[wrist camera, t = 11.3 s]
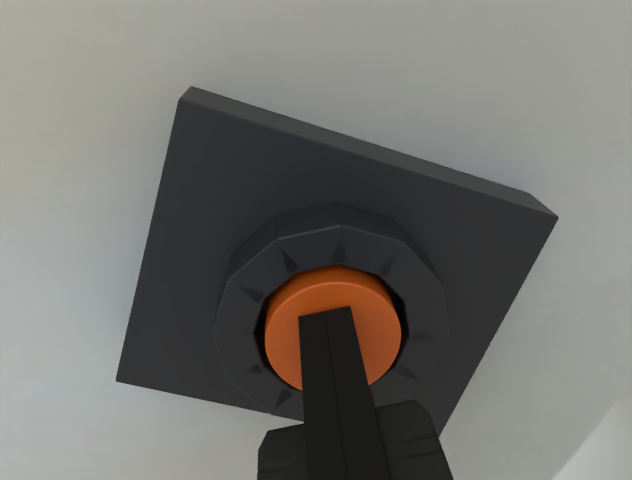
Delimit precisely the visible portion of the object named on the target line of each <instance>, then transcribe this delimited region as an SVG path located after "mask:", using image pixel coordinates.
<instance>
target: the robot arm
mask: <svg viewBox="0 0 632 480" xmlns="http://www.w3.org/2000/svg"><path fill="white" fill-rule="evenodd" d="M298 325H299V342H300V359H301V376H302V393H303V409H304V424H299V425H294V426H289V427H284V428H279V429H274V430H269V431H268V432H267V434H266V436H265V438H264V440H263V442H262V444H261V446H260V448H259V450H258V473H257V480H453V477H452V474H451V471H450V469H449V466H448V463H447V460H446V457H445V455H444V452H443V450H442V446H441V444H440V441H439V438H438V435H437V433H436V430H435V427H434V424H433V421H432V418H431V416H430V413H429V412H428V411H427V410H426V409H425V408H424V407H423V406H422V405H421V404H420V403H418V402H417V401H416V400H415V399H414V400H409V401H405V402H400V403H395V404H390V405H385V406H380V407H375V408H374V407H373V402H372V398H371V393H370V389H369V385H368V380H367V376H366V372H365V367H364V363H363V359H362V354H361V350H360V346H359V341H358V337H357V332H356V328H355V324H354V319H353V315H352V311H351V306H346V307H341V308H337V309H332V310H327V311H322V312H317V313H313V314H308V315H303V316H298Z"/></svg>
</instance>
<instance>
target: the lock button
mask: <svg viewBox="0 0 632 480" xmlns="http://www.w3.org/2000/svg"><path fill="white" fill-rule="evenodd" d="M346 306H351V311H352V315H353V319H354V324H355V328H356V332H357V337H358V341H359V346H360V350H361V354H362V359H363V363H364V367H365V372H366V376H367V380H368V385H370V384H372V383H373V382H375V381H376V380H377V379H379V378H380V377H381V376H382V375H383V374H384V373H385V372H386V371H387V370H388V369H389V367H390V366H391V365H392V363H393V361H394V360H395V358H396V356H397V353H398V350H399V347H400V343H401V327H400V322H399V319H398V316H397V313H396V311H395V308H394V305H393V302H392V300H391V297H390V294H389V291H388V289H387V287H386V285H385V283H384V281H383V280H382V279H381V277H380V276H379V275H376V274H373V273H369V272H365V271H361V270H358V269H354V268H350V267H347V266H343V265H339V264H337V265H332V266H327V267H322V268H318V269H313V270H308V271H304V272H299V273H295V274H294V275H293V276H292V277H291V278H289V279H288V280H287V281H286V282H285V283H283V284H282V285H281V286H280V287H278V288H277V289H276V290H275V291H274V292H272V293H271V294H270V295H269V296H268V300H267V305H266V320H265V349H266V354H267V357H268V359H269V362H270V364H271V365H272V367H273V369H274V370H275V371H276V372H277V374H278V375H279V376H280V377H281V378H282V379H283V380H284V381H286V382H287V383H289V384H290V385H292V386H293V387H295V388H297V389H299V390H302V376H301V359H300V342H299V325H298V316H303V315H308V314H313V313H317V312H322V311H327V310H332V309H337V308H341V307H346Z"/></svg>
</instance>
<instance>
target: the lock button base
mask: <svg viewBox="0 0 632 480" xmlns="http://www.w3.org/2000/svg"><path fill="white" fill-rule="evenodd" d="M558 218H559V217H558V216H557V215H556V214H554V213H553V212H552V211H551V210H549V209H548V208H547V207H546V206H544V205H543V204H542V203H541V202H539V201H538V200H537V199H536V198H534V197H533V196H532V195H531V194H529V193H526V192H523V191H520V190H517V189H514V188H510V187H507V186H504V185H501V184H498V183H495V182H491V181H488V180H485V179H482V178H479V177H476V176H473V175H469V174H466V173H463V172H460V171H457V170H454V169H451V168H447V167H444V166H441V165H438V164H435V163H432V162H429V161H425V160H422V159H419V158H416V157H413V156H410V155H407V154H403V153H400V152H397V151H394V150H391V149H388V148H384V147H381V146H378V145H375V144H372V143H369V142H366V141H362V140H359V139H356V138H353V137H350V136H347V135H344V134H340V133H337V132H334V131H331V130H328V129H325V128H322V127H318V126H315V125H312V124H309V123H306V122H303V121H299V120H296V119H293V118H290V117H287V116H284V115H281V114H277V113H274V112H271V111H268V110H265V109H262V108H259V107H255V106H252V105H249V104H246V103H243V102H240V101H237V100H233V99H230V98H227V97H224V96H221V95H218V94H214V93H211V92H208V91H205V90H202V89H199V88H196V87H192V86H191V87H190V88H189V89H188V90H187V91H186V92H185V93H184V94H183V96H182V97H181V98H180V99H179V100H178V105H177V109H176V114H175V118H174V123H173V127H172V132H171V136H170V140H169V145H168V149H167V154H166V158H165V163H164V167H163V171H162V176H161V180H160V185H159V189H158V194H157V198H156V203H155V207H154V211H153V216H152V220H151V225H150V229H149V234H148V238H147V242H146V247H145V251H144V256H143V260H142V265H141V269H140V274H139V278H138V282H137V287H136V291H135V296H134V300H133V305H132V309H131V314H130V318H129V322H128V327H127V331H126V336H125V340H124V345H123V349H122V353H121V358H120V362H119V367H118V371H117V376H116V382H121V383H126V384H130V385H135V386H140V387H145V388H149V389H154V390H159V391H164V392H168V393H173V394H178V395H183V396H188V397H192V398H197V399H202V400H207V401H211V402H216V403H221V404H226V405H230V406H235V407H240V408H245V409H249V410H254V411H259V412H264V413H268V414H271V415H275V416H279V417H284V418H289V419H294V420H298V421H303V422H304V409H303V393H302V390H299V389H297V388H295V387H293V386H292V385H290V384H289V383H287V382H286V381H284V380H283V379H282V378H281V377H280V376H279V375H278V374H277V372H276V371H275V370H274V369H273V367H272V365H271V364H270V362H269V359H268V357H267V354H266V349H265V320H266V305H267V300H268V296H269V295H270V294H271V293H272V292H274V291H275V290H276V289H277V288H278V287H280V286H281V285H282V284H283V283H285V282H286V281H287V280H288V279H289V278H291V277H292V276H293V275H294V274H295V273H299V272H304V271H308V270H313V269H318V268H322V267H327V266H332V265H337V264H339V265H343V266H347V267H350V268H354V269H358V270H361V271H365V272H369V273H373V274H376V275H379V276H380V277H381V279H382V280H383V281H384V283H385V285H386V287H387V289H388V291H389V294H390V297H391V300H392V302H393V305H394V308H395V311H396V313H397V316H398V319H399V322H400V327H401V343H400V347H399V350H398V353H397V356H396V358H395V360H394V361H393V363H392V365H391V366H390V367H389V369H388V370H387V371H386V372H385V373H384V374H383V375H382V376H381V377H380V378H379V379H377V380H376V381H375V382H373V383H372V384H370V385H369V389H370V393H371V398H372V402H373V407H374V408H375V407H380V406H385V405H390V404H395V403H400V402H405V401H409V400H414V399H415V400H416V401H417V402H418V403H420V404H421V405H422V406H423V407H424V408H425V409H426V410H427V411H428V412H429V413H430V416H431V418H432V421H433V424H434V427H435V430H436V433H437V435H438V438H439V436H440V434H441V432H442V430H443V429H444V427H445V425H446V423H447V421H448V419H449V418H450V416H451V414H452V412H453V410H454V409H455V407H456V405H457V403H458V401H459V399H460V398H461V396H462V394H463V392H464V390H465V388H466V387H467V385H468V383H469V381H470V379H471V377H472V376H473V374H474V372H475V370H476V368H477V367H478V365H479V363H480V361H481V359H482V357H483V356H484V354H485V352H486V350H487V348H488V346H489V345H490V343H491V341H492V339H493V337H494V335H495V334H496V332H497V330H498V328H499V326H500V324H501V323H502V321H503V319H504V317H505V315H506V314H507V312H508V310H509V308H510V306H511V304H512V303H513V301H514V299H515V297H516V295H517V293H518V292H519V290H520V288H521V286H522V284H523V282H524V281H525V279H526V277H527V275H528V273H529V271H530V270H531V268H532V266H533V264H534V262H535V261H536V259H537V257H538V255H539V253H540V251H541V250H542V248H543V246H544V244H545V242H546V240H547V239H548V237H549V235H550V233H551V231H552V229H553V228H554V226H555V224H556V222H557V220H558Z"/></svg>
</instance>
